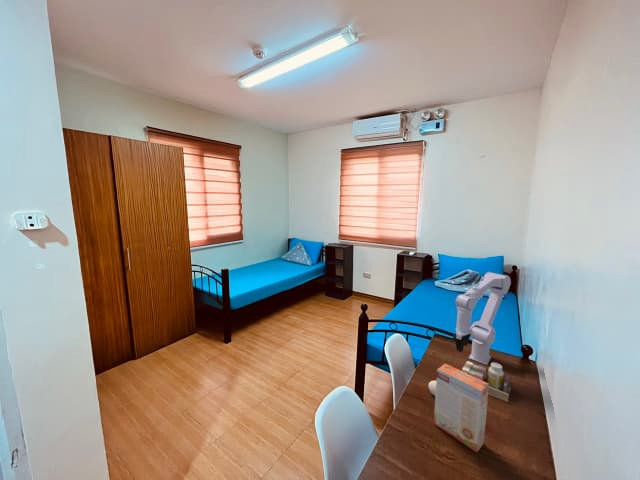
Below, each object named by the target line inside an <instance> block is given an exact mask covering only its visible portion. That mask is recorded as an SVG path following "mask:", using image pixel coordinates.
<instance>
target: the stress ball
mask: <svg viewBox="0 0 640 480" xmlns="http://www.w3.org/2000/svg"><path fill="white" fill-rule="evenodd" d="M436 381H437V380H431V381H429V382H428V390H429V392H430V393H431V394H432V395H433V396H434V397H433V398H434V399H435V396H436Z"/></svg>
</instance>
